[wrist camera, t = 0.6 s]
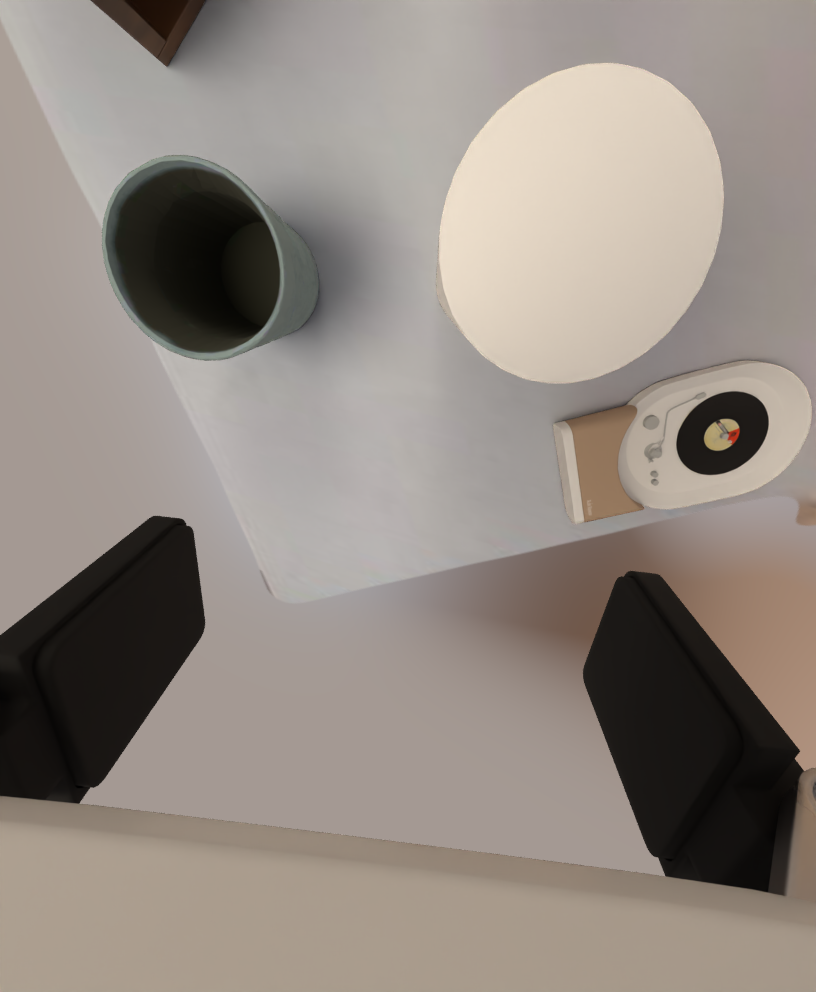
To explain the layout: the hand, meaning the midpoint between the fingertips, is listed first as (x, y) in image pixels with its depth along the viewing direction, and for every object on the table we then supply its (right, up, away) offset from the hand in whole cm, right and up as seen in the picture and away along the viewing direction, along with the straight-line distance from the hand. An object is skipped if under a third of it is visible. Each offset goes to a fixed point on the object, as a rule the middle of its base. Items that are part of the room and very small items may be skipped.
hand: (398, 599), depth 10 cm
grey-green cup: (-11, +20, +25) cm, 34 cm away
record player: (+24, +7, +29) cm, 38 cm away
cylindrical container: (+6, +19, +25) cm, 32 cm away
